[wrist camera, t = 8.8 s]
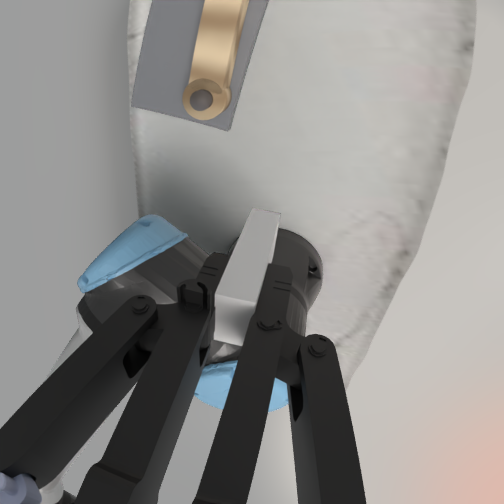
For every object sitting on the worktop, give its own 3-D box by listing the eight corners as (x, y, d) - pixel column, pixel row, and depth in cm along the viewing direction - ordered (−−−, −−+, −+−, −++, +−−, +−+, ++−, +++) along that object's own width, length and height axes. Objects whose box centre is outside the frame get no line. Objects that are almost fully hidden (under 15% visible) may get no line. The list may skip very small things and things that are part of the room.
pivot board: (230, 129, 38) (227, 131, 37) (135, 104, 38) (131, 106, 37) (295, -73, 21) (294, -77, 20) (185, -84, 21) (182, -87, 20)
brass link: (227, 118, 36) (217, 126, 33) (189, 110, 36) (176, 117, 33) (261, -30, 24) (254, -39, 21) (219, -35, 24) (207, -43, 21)
